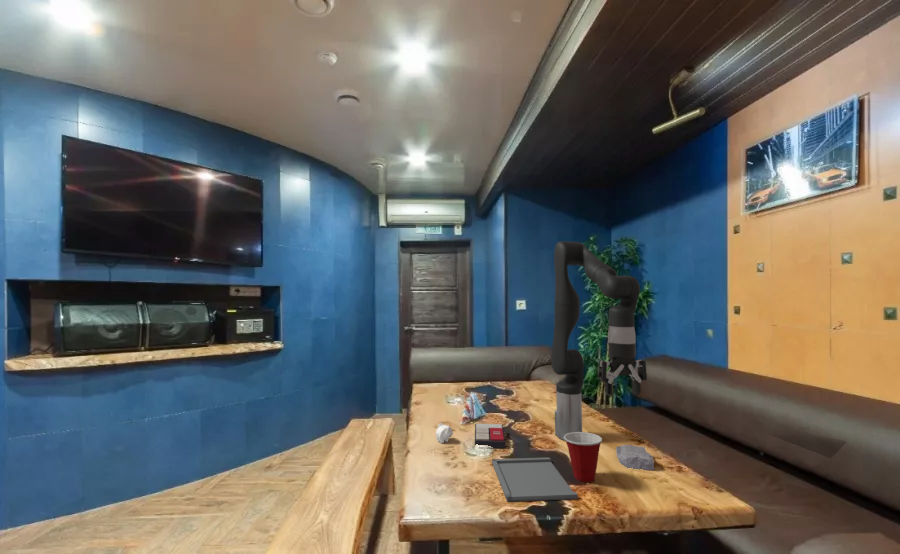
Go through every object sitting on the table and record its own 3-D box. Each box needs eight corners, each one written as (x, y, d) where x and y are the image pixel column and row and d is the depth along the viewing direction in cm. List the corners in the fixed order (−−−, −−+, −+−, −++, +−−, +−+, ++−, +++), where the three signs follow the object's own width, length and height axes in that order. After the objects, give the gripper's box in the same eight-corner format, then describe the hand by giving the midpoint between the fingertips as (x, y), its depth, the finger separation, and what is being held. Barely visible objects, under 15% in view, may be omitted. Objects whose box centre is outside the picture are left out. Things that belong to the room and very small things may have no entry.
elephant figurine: (457, 441, 133) (457, 425, 133) (440, 447, 128) (440, 430, 128) (447, 435, 138) (447, 420, 138) (430, 440, 133) (430, 424, 134)
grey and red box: (474, 438, 127) (475, 421, 142) (474, 450, 127) (475, 432, 142) (505, 439, 126) (502, 422, 141) (505, 451, 126) (502, 433, 141)
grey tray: (549, 461, 116) (549, 457, 116) (577, 499, 94) (577, 494, 94) (492, 463, 115) (492, 459, 115) (507, 501, 93) (507, 497, 93)
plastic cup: (579, 465, 113) (578, 427, 114) (611, 480, 104) (609, 438, 105) (556, 475, 107) (556, 434, 108) (588, 491, 98) (586, 446, 99)
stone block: (624, 475, 111) (658, 471, 109) (620, 459, 112) (654, 455, 110) (614, 459, 123) (645, 456, 121) (611, 445, 123) (641, 441, 121)
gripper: (635, 339, 113) (636, 390, 112) (593, 339, 111) (594, 392, 110) (651, 342, 105) (653, 397, 105) (606, 343, 104) (607, 399, 103)
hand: (622, 394), depth 108 cm, fingers open, 8 cm apart
